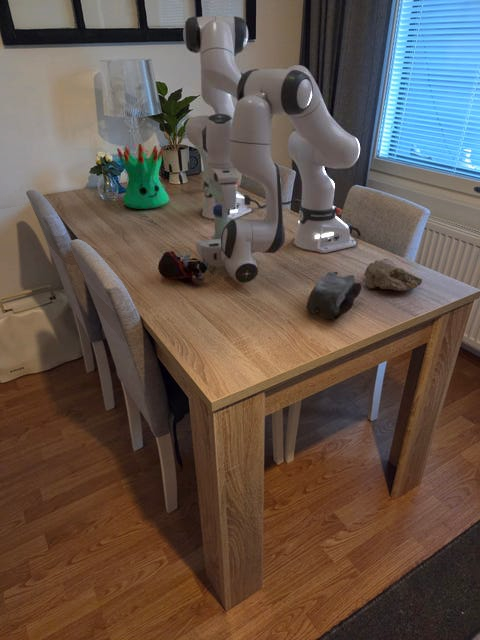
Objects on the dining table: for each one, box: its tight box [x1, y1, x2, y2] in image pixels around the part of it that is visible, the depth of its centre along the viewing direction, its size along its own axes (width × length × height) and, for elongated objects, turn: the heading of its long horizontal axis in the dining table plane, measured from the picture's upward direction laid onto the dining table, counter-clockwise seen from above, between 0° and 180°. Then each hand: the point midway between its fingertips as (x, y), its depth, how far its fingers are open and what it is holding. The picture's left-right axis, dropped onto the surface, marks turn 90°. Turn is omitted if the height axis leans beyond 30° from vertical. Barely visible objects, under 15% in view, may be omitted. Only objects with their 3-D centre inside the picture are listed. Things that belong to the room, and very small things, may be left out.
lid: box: [213, 205, 230, 216], centre depth 147 cm, size 6×6×2 cm
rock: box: [305, 271, 362, 321], centre depth 121 cm, size 18×11×8 cm, turn 152°
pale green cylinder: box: [213, 215, 230, 239], centre depth 151 cm, size 5×5×16 cm
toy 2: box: [157, 250, 209, 286], centre depth 136 cm, size 12×9×15 cm
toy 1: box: [116, 142, 170, 210], centre depth 197 cm, size 20×20×25 cm
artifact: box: [364, 258, 423, 292], centre depth 135 cm, size 18×7×15 cm
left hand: (221, 213), depth 148 cm, fingers closed on lid, 5 cm apart
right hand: (221, 237), depth 153 cm, fingers closed on pale green cylinder, 5 cm apart
